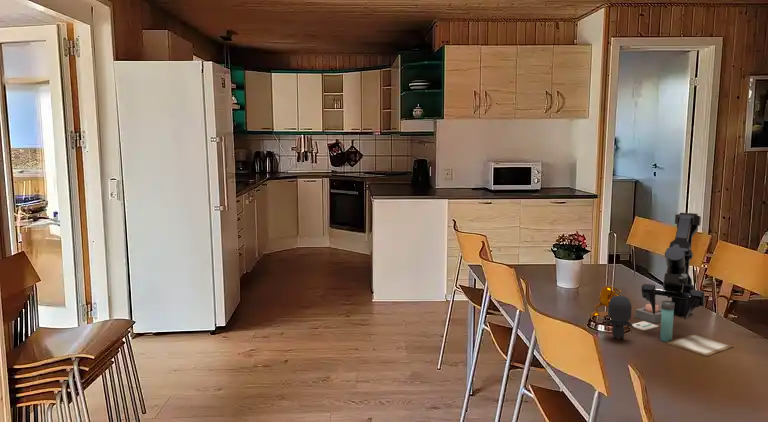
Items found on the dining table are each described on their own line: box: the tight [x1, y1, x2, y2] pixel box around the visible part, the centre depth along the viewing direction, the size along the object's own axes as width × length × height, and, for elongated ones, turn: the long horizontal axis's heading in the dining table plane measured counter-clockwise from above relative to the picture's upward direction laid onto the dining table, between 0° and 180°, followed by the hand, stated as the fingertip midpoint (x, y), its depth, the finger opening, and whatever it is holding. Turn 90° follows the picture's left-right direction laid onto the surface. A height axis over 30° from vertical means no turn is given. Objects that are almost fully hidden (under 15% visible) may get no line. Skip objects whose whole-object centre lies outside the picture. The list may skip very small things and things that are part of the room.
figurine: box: [589, 285, 623, 317], centre depth 212 cm, size 8×11×12 cm
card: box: [631, 320, 659, 332], centre depth 203 cm, size 8×6×1 cm
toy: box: [603, 294, 635, 341], centre depth 189 cm, size 9×8×15 cm
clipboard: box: [666, 333, 734, 358], centre depth 184 cm, size 15×13×1 cm
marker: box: [659, 300, 675, 343], centre depth 188 cm, size 4×4×13 cm
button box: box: [634, 306, 662, 324], centre depth 211 cm, size 8×8×3 cm
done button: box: [645, 303, 660, 313], centre depth 211 cm, size 4×4×4 cm
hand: (669, 316), depth 188 cm, fingers open, 9 cm apart
